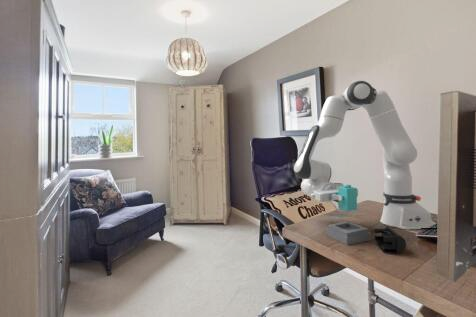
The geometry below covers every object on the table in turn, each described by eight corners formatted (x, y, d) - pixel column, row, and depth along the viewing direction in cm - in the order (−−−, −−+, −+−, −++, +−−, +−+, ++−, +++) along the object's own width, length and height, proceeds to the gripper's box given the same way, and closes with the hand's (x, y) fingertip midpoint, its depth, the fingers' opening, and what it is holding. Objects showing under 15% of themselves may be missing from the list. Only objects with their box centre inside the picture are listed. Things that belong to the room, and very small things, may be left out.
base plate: (348, 230, 116) (348, 220, 115) (370, 239, 105) (370, 228, 104) (326, 234, 112) (326, 224, 111) (347, 245, 100) (346, 233, 100)
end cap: (406, 254, 91) (406, 235, 90) (384, 254, 92) (384, 235, 91) (393, 243, 101) (394, 226, 100) (374, 242, 102) (374, 226, 101)
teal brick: (347, 206, 111) (347, 183, 110) (356, 209, 106) (356, 185, 105) (338, 208, 109) (338, 184, 108) (347, 211, 104) (347, 186, 103)
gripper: (307, 187, 115) (328, 192, 102) (343, 182, 122) (367, 187, 109) (307, 201, 116) (328, 208, 103) (344, 196, 123) (367, 202, 110)
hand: (349, 197), depth 106 cm, fingers closed on teal brick, 5 cm apart
